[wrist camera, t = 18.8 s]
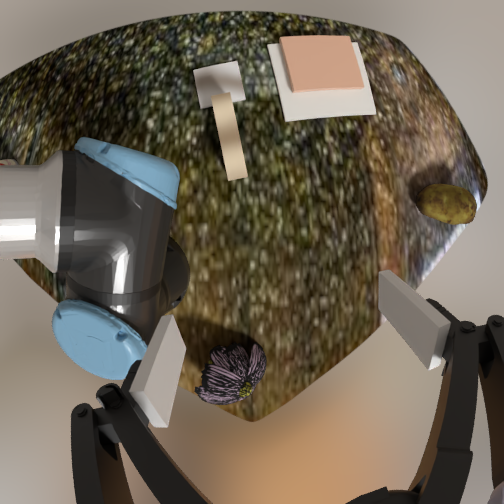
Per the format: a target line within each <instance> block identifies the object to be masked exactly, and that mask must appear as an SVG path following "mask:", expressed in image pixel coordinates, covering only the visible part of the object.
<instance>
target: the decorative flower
mask: <svg viewBox="0 0 504 504" xmlns="http://www.w3.org/2000/svg"><path fill="white" fill-rule="evenodd" d="M234 343H235V342H234ZM234 343H232V345H229V346H228V347H226V346H225V347H221V346H220V345H218V346H216V347H214V348H213V349H211V351H210V358H211V360H210V361H209V363H205V369H204V370H203V371H202V372H201V373H202V374H203V375H202V376H201V378H202V386H200V387H195V392H196V393H197V394H198V396H199V397H200V398H201V399H202V400H203V401H205V402H208V403H211V404H217V405H227V404H231V403H234V402H237V401H240V400H243V399H245V398H247V397H248V396H249V395H251V393H252V392H253V391H254V389H255V386H256V385H257V384H258V383H259V381H260V380H261V379H262V377H263V375H264V373H265V369H266V356H265V353H264V351H263V348H262V347H261V346H260V345H259V344H258V343H256V342H255V343H254V344H253V346H252V350H251V357H250V359H249V357H248V354H247V353H246V351H245V350H244V348H243V347H242V345H241V344H240V343H238V344H237V343H235V344H234Z"/></svg>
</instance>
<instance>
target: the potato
mask: <svg viewBox="0 0 504 504" xmlns="http://www.w3.org/2000/svg"><path fill="white" fill-rule="evenodd" d="M416 206H417V208H418V210H419V211H420V212H421V213H422V214H423V215H426V216H428V217H430V218H434V219H437V220H439V221H442V222H445V223H448V224H453V225H454V224H455V225H456V224H467V223H470V222H472V221H473V219H474V217H475V213H476V209H477V204H476V200H475V198H474V196H473V195H472V194H471V193H470V192H469V191H467V190H466V189H464V188H461V187H458V186H454V185H446V184H432V185H429V186H427V187H425V188H424V189H423V190H422V191H421V192H419V194H418V195H417V198H416Z"/></svg>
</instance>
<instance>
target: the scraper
mask: <svg viewBox="0 0 504 504" xmlns="http://www.w3.org/2000/svg"><path fill="white" fill-rule="evenodd" d="M193 72H194V77H195V82H196V87H197V92H198V98H199V103H200V108H201V109H204V108H208V107H212V106H213V110H214V114H215V119H216V124H217V129H218V134H219V139H220V143H221V148H222V153H223V158H224V162H225V167H226V172H227V177H228V181H229V180H234V179H239V178H244V177H248V175H247V170H246V166H245V161H244V156H243V151H242V146H241V141H240V136H239V132H238V127H237V122H236V117H235V113H234V108H233V103H232V102H236V101H242V100H246V99H245V94H244V89H243V85H242V80H241V76H240V72H239V67H238V63H237V61H234V62H228V63H223V64H218V65H213V66H209V67H204V68H200V69H196V70H193Z"/></svg>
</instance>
